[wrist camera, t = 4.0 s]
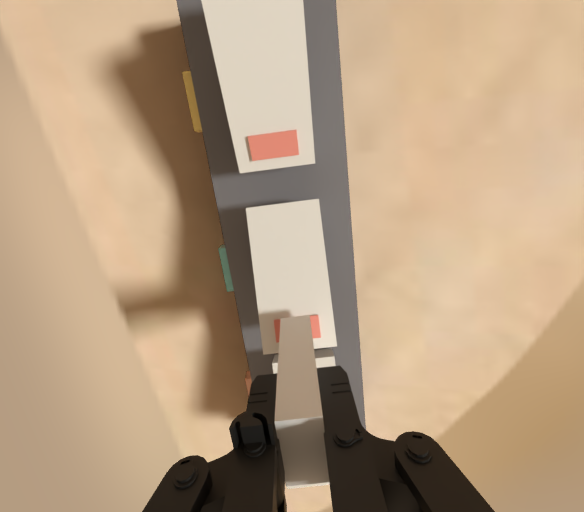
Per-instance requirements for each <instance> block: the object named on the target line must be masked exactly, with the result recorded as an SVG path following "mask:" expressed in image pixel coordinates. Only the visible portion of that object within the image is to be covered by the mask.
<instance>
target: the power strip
mask: <svg viewBox="0 0 584 512" xmlns="http://www.w3.org/2000/svg"><path fill="white" fill-rule="evenodd" d="M176 1H177V6H178V11H179V16H180V21H181V26H182V31H183V36H184V41H185V46H186V51H187V56H188V62H189V67H190V71H185V72H182V75H183V80H184V84H185V89H186V94H187V99H188V104H189V109H190V114H191V119H192V123H193V128H194V131H195V132H198V133H199V132H203V137H204V142H205V147H206V152H207V158H208V163H209V168H210V173H211V178H212V183H213V188H214V193H215V198H216V203H217V208H218V213H219V218H220V223H221V228H222V233H223V238H224V243H225V245H221V246H220V247H219V248H218V250H219V255H220V260H221V265H222V270H223V274H224V279H225V284H226V289H227V292H229V291H234V294H235V299H236V304H237V309H238V314H239V319H240V324H241V329H242V334H243V339H244V344H245V349H246V355H247V360H248V365H249V370H250V371H247V372H246V377H245V382H246V387H247V391H248V396H249V393H250V387H251V384H252V382H253V381H254V379H255V378H256V377H257V375H266V374H273V366H272V362H273V359H274V355H276V354H278V353H274V354H265V355H263V348H262V340H261V331H260V323H259V315H258V306H257V298H256V290H255V282H254V273H253V265H252V257H251V248H250V240H249V232H248V223H247V215H246V208H250V207H258V206H265V205H273V204H281V203H289V202H297V201H304V200H312V199H319V204H320V212H321V221H322V229H323V237H324V245H325V253H326V261H327V269H328V277H329V285H330V293H331V301H332V309H333V317H334V325H335V333H336V341H337V346H336V347H327V348H318V349H314V350H320V349H329V348H332V351H333V354H334V357H335V365H336V366H339V365H340V366H341V367H342V368H343V369H344V370H345V371H346V372H347V375H348V379H349V382H350V386H351V390H352V393H353V397H354V401H355V404H356V408H357V412H358V415H359V419H360V422H361V424H362V426H363V427H364V429H365V430H366V425H365V411H364V397H363V382H362V368H361V354H360V339H359V325H358V311H357V297H356V282H355V268H354V254H353V239H352V225H351V211H350V196H349V182H348V168H347V154H346V139H345V125H344V111H343V96H342V82H341V68H340V53H339V39H338V25H337V10H336V0H303V5H304V18H305V32H306V45H307V59H308V72H309V86H310V99H311V113H312V126H313V140H314V153H315V164H307V165H300V166H292V167H284V168H277V169H269V170H262V171H254V172H247V173H240V172H239V168H238V163H237V159H236V154H235V150H234V145H233V141H232V136H231V132H230V127H229V123H228V118H227V114H226V109H225V105H224V100H223V96H222V91H221V87H220V82H219V78H218V73H217V69H216V64H215V60H214V55H213V51H212V46H211V42H210V38H209V33H208V29H207V24H206V20H205V15H204V11H203V6H202V2H201V0H176Z"/></svg>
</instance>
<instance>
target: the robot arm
mask: <svg viewBox="0 0 584 512" xmlns="http://www.w3.org/2000/svg"><path fill="white" fill-rule="evenodd" d="M229 430H230V434H231V438H232V443H233V447H234V449H233V450H232V451H231V452H229V453H228V454H227V455H225V456H223V457H221V458H218V459H216V460H213V461H211V462H208V463H207V461H206V460H205V459H204V458H203V457H200V456H198V455H196V456H188V457H186V458H183V459H181V460H179V461H178V462H177V463H175V464H174V465H173V466H172V467H171V468H170V469H169V471H168V472H167V473H166V475H165V477H164V478H163V479H162V481H161V483H160V484H159V486H158V487H157V489H156V491H155V492H154V494H153V496H152V497H151V499H150V500H149V502H148V503H147V505H146V507H145V508H144V510H143V511H142V512H287V505H286V499H285V494H284V491H285V484H286V486H296V485H306V484H316V483H326V482H330V490H331V498H332V507H333V512H495V511H494V510H493V509H492V508H491V507H490V505H489V504H488V503H487V502H486V501H485V499H484V498H483V497H482V496H481V495H480V493H479V492H478V491H477V490H476V489H475V488H474V486H473V485H472V484H471V483H470V482H469V480H468V479H467V478H466V477H465V475H464V474H463V473H462V472H461V471H460V469H459V468H458V467H457V466H456V465H455V463H454V462H453V461H452V460H451V459H450V457H449V456H448V455H447V454H446V453H445V451H444V450H443V449H442V448H441V447H440V446H439V444H438V443H437V442H436V441H434V440H433V439H432V438H431V437H429V436H427V435H425V434H423V433H419V432H405V433H403V434H401V435H400V436H398V438H397V439H396V441H390V440H384V439H381V438H377V437H375V436H373V435H371V434H370V433H369V432H367V431H366V430H365V429H364V427H363V426H362V424H361V422H360V419H359V415H358V412H357V408H356V404H355V401H354V397H353V393H352V390H351V386H350V382H349V379H348V375H347V372H346V371H345V370H344V369H343V368H342V367H341V366H340V365H339V366H330V367H321V368H316V360H315V353H314V345H313V337H312V330H311V322H310V315H305V316H297V317H288V318H281V320H280V337H279V353H278V370H277V373H275V374H266V375H257V377H256V378H255V379H254V381H253V382H252V384H251V387H250V393H249V399H248V404H247V410H246V411H245V412H244V413H242V414H240V415H238V416H237V417H236V418H235V419H234V420H233V421H232V423H231V426H230V428H229Z"/></svg>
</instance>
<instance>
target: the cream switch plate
mask: <svg viewBox="0 0 584 512" xmlns="http://www.w3.org/2000/svg"><path fill="white" fill-rule="evenodd" d="M246 215H247V223H248V232H249V240H250V248H251V257H252V265H253V273H254V282H255V290H256V298H257V306H258V315H259V323H260V331H261V340H262V348H263V355H265V354H274V353H279V337H280V320H281V318H288V317H297V316H305V315H310V322H311V330H312V337H313V345H314V349H318V348H327V347H336V346H337V341H336V333H335V325H334V317H333V309H332V301H331V293H330V285H329V277H328V269H327V261H326V253H325V245H324V237H323V229H322V221H321V212H320V204H319V199H312V200H304V201H297V202H289V203H281V204H273V205H265V206H258V207H250V208H246Z"/></svg>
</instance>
